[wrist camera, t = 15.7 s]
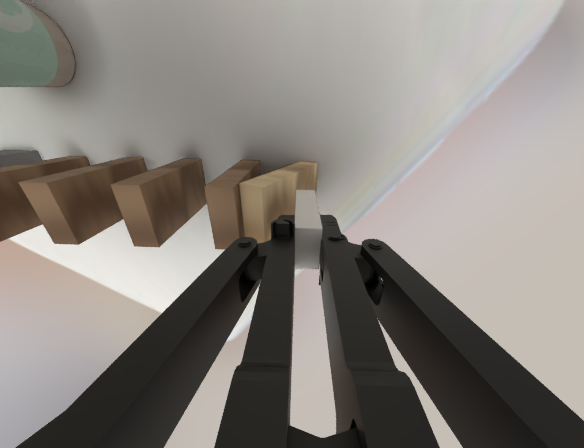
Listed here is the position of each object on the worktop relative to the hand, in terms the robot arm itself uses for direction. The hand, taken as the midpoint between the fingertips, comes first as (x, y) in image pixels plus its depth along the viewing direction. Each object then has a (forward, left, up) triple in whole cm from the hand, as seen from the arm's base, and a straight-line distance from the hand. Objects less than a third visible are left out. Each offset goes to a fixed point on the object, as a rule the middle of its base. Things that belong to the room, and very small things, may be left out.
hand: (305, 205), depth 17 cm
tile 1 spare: (0, +1, -7) cm, 7 cm away
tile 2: (0, -6, -7) cm, 9 cm away
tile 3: (0, -12, -7) cm, 14 cm away
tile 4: (0, -19, -7) cm, 20 cm away
